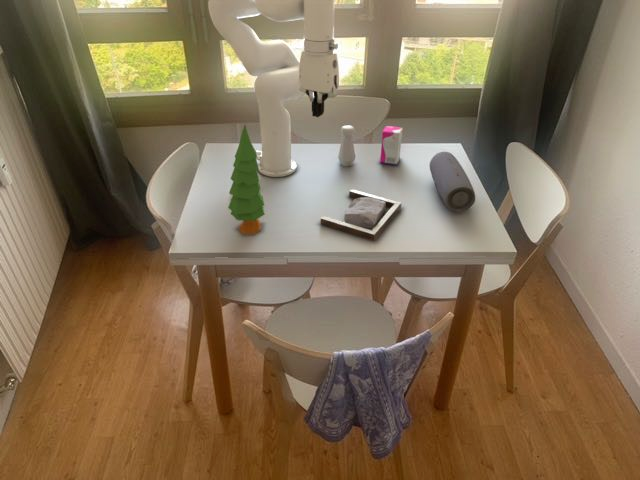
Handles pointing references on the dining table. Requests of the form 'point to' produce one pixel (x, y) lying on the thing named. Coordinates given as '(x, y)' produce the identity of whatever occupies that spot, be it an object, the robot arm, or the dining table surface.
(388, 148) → the supplement box
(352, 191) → the frame
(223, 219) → the dining table surface
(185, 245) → the dining table surface
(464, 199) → the bluetooth speaker
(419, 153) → the dining table surface
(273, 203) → the dining table surface
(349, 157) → the salt shaker
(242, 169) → the decorative tree
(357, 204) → the stone block
